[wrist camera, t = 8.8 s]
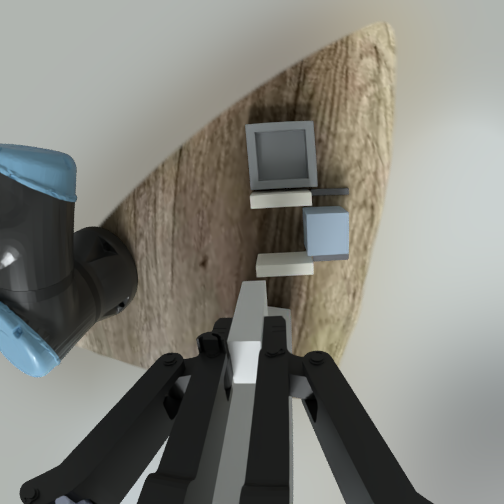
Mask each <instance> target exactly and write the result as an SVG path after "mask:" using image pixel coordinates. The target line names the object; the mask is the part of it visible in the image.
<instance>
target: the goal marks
mask: <svg viewBox="0 0 504 504" xmlns="http://www.w3.org/2000/svg"><path fill="white" fill-rule="evenodd" d="M347 194H349V188H334V189H311V195H312V196H315V195H347ZM348 257H349V254H335V255H318V256H313V261H330V260H348Z"/></svg>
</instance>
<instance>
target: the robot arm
mask: <svg viewBox="0 0 504 504" xmlns="http://www.w3.org/2000/svg"><path fill="white" fill-rule="evenodd" d="M75 189H76V164H75V162H74V160H73V159H72V157H70V156H69V155H67V154H65V153H62V152H58V151H53V150H49V149H43V148H37V147H31V146H23V145H14V144H0V351H1V353H2V354H3V355H4V356H5V357H6V358H7V359H8V360H9V361H10V362H11V363H12V364H13V365H14V366H16V367H17V368H18V369H19V370H21V371H22V372H24V373H26V374H28V375H30V376H33V377H42V376H45V375H46V374H48V373H49V372H50V371H51V370H52V369H53V368H54V367H55V366H56V365H59V364H60V362H61V360H62V359H63V358H64V357H65V355H66V354H67V353H68V352H69V351H70V350H71V349H72V348H73V347H74V345H75V344H76V343H77V342H78V341H79V340H80V339H81V338H82V337H83V336H84V335H85V333H86V332H87V331H88V330H89V329H90V328H91V327H92V326H93V325H94V324H95V323H96V322H98V321H100V320H103V319H106V318H109V317H111V316H114V315H117V314H118V313H120V312H122V311H123V310H124V309H125V308H126V307H127V306H128V305H129V304H130V302H131V301H132V300H133V298H134V296H135V293H136V290H137V272H136V267H135V264H134V261H133V259H132V257H131V255H130V253H129V251H128V249H127V248H126V246H125V245H124V244H123V243H122V242H121V240H120V239H119V238H117V237H116V236H115V235H114V234H112V233H111V232H109V231H107V230H105V229H103V228H100V227H86V228H83V229H81V230H79V231H77V232H75V233H74V208H75V202H76V200H77V196H76V194H75ZM196 341H197V345H198V349H199V355H198V356H197V357H193V358H188V359H183V357H182V356H181V355H180V354H178V353H167V354H164V355H162V356H161V357H160V358H158V360H157V361H156V362H155V363H154V364H153V365H152V366H151V367H150V368H149V369H148V370H147V371H146V373H145V374H144V375H143V376H142V377H141V378H140V379H139V380H138V381H137V382H136V383H135V384H134V386H133V387H132V388H131V389H130V390H129V391H128V392H127V393H126V394H125V395H124V396H123V397H122V399H121V400H120V401H119V402H118V403H117V404H116V405H115V406H114V407H113V408H112V409H111V410H110V411H109V413H108V414H107V415H106V416H105V417H104V418H103V419H102V420H101V421H100V422H99V423H98V424H97V425H96V427H95V428H94V429H93V430H92V431H91V432H90V433H89V434H88V435H87V437H85V438H84V440H82V442H81V443H80V444H79V445H78V446H77V447H76V448H75V449H74V450H73V451H72V452H71V453H70V454H69V456H68V457H67V458H66V459H65V460H64V461H63V462H62V463H61V464H60V465H59V466H57V467H55V468H53V469H51V470H49V471H47V472H45V473H43V474H41V475H39V476H37V477H35V478H33V479H31V480H29V481H27V482H25V483H24V484H23V485H22V487H21V488H20V498H21V500H22V502H23V503H24V504H120V502H121V501H122V500H123V499H124V497H125V496H126V494H127V493H128V492H129V490H130V489H131V488H132V486H133V485H134V484H135V483H136V481H137V480H138V478H139V477H140V476H141V474H142V473H143V472H144V470H145V469H146V467H147V466H148V465H149V463H150V462H151V461H152V459H153V458H154V456H155V455H156V454H157V452H158V450H159V449H160V448H161V446H162V445H163V444H164V442H165V441H166V439H167V438H168V436H169V438H168V441H167V444H166V447H165V450H164V452H163V456H162V458H161V461H160V464H159V467H158V469H157V471H156V472H155V473H151V474H149V475H148V476H147V478H146V480H145V482H144V485H143V488H142V491H141V493H140V496H139V499H138V502H137V504H212V502H213V496H214V491H215V485H216V480H217V475H218V469H219V464H220V459H221V453H222V448H223V443H224V437H225V432H226V426H227V421H228V415H229V410H230V405H231V399H232V394H233V386H232V380H233V379H234V383H256V386H255V395H254V405H253V414H252V423H251V432H250V441H249V450H248V458H247V467H246V475H245V482H244V485H243V486H242V488H241V493H240V499H239V504H289V503H290V485H289V479H290V442H289V396H291V397H296V398H301V400H302V403H303V405H304V408H305V410H306V412H307V415H308V417H309V419H310V422H311V424H312V426H313V429H314V431H315V433H316V436H317V438H318V441H319V443H320V445H321V448H322V450H323V452H324V454H325V457H326V459H327V461H328V464H329V466H330V468H331V471H332V473H333V475H334V477H335V480H336V482H337V484H338V486H339V489H340V491H341V493H342V495H343V498H344V500H345V502H346V504H433V503H432V502H430V501H429V500H427V499H426V498H424V497H423V496H421V495H420V494H419V493H417V492H416V491H415V489H414V487H413V486H412V484H411V483H410V481H409V479H408V478H407V476H406V474H405V473H404V471H403V470H402V468H401V466H400V465H399V463H398V462H397V460H396V458H395V457H394V455H393V453H392V452H391V450H390V449H389V447H388V445H387V444H386V442H385V441H384V439H383V437H382V436H381V434H380V433H379V431H378V430H377V428H376V427H375V425H374V423H373V422H372V420H371V419H370V417H369V416H368V414H367V412H366V411H365V409H364V407H363V406H362V404H361V403H360V401H359V399H358V398H357V396H356V395H355V393H354V392H353V390H352V389H351V387H350V385H349V384H348V382H347V381H346V379H345V378H344V376H343V374H342V373H341V371H340V370H339V368H338V367H337V365H336V363H335V362H334V360H333V359H332V357H331V356H330V355H329V354H328V353H326V352H323V351H312V352H309V353H307V354H306V355H305V356H304V357H299V356H295V355H293V354H291V353H290V352H289V351H288V349H287V336H286V320H285V319H284V318H283V316H268V308H267V294H266V280H263V281H243V282H242V286H241V290H240V293H239V297H238V301H237V305H236V309H235V313H234V317H233V318H220V319H219V320H218V321H216V322H215V324H214V327H213V330H212V332H206V333H203V334H201V335H200V336H198V337H197V339H196Z"/></svg>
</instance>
